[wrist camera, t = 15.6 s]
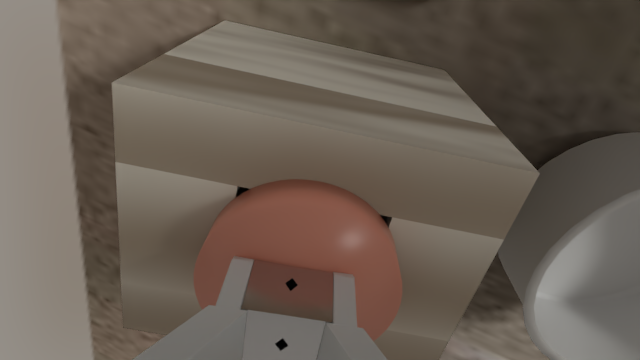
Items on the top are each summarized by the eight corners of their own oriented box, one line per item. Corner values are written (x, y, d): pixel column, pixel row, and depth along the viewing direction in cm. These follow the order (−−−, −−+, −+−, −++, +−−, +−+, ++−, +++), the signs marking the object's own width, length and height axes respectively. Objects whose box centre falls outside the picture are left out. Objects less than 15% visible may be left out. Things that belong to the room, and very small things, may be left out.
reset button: (241, 118, 12) (199, 184, 9) (406, 152, 13) (432, 230, 9) (225, 249, 15) (188, 343, 11) (363, 276, 15) (370, 375, 11)
